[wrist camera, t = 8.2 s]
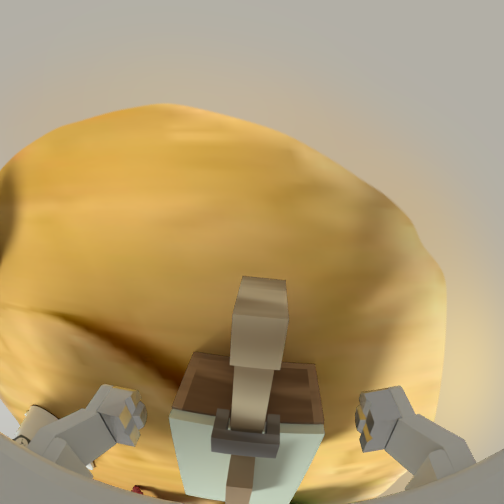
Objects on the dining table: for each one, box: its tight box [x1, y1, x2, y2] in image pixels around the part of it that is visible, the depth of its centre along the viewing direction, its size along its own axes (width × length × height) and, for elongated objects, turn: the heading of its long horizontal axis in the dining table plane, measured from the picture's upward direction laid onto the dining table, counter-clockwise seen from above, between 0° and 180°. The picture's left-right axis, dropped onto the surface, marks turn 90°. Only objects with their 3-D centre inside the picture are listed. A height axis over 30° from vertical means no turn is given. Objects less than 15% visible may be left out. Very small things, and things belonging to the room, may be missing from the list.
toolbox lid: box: [169, 409, 325, 504], centre depth 24 cm, size 19×14×6 cm
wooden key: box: [230, 276, 289, 434], centre depth 17 cm, size 13×2×4 cm, turn 175°
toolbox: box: [172, 352, 324, 458], centre depth 27 cm, size 22×14×13 cm, turn 175°
